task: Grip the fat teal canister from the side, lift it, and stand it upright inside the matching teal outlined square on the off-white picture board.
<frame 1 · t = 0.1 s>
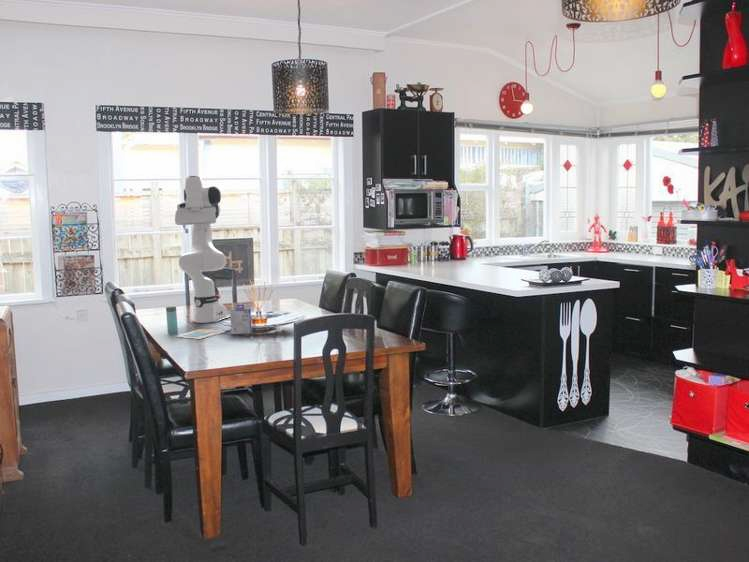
hand: (196, 232, 366), 52 cm above the table, tool tilted 20°, fingers open, 8 cm apart
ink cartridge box: (241, 333, 371), on the table
picture board: (200, 334, 370), on the table
teal canister: (172, 333, 376), on the table
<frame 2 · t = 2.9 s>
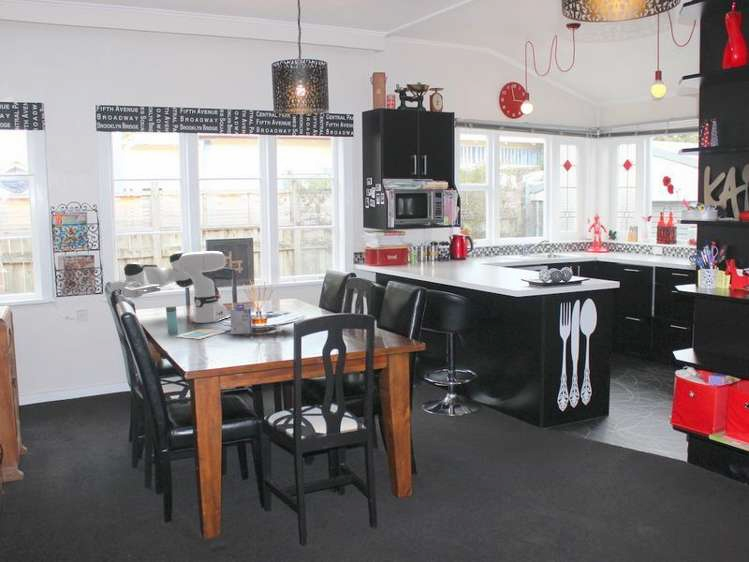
hand: (152, 290, 379), 22 cm above the table, tool horizontal, fingers open, 8 cm apart
nothing on the table moved.
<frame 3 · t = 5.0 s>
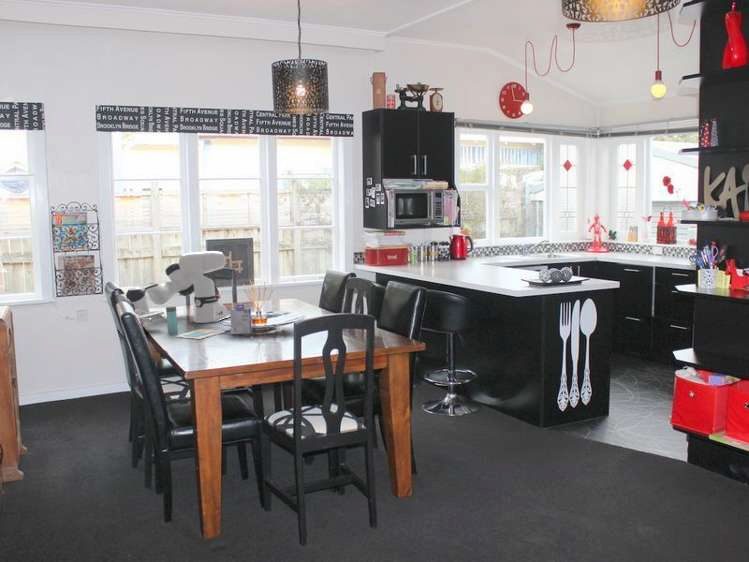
hand: (157, 318, 379), 7 cm above the table, tool horizontal, fingers open, 8 cm apart
nothing on the table moved.
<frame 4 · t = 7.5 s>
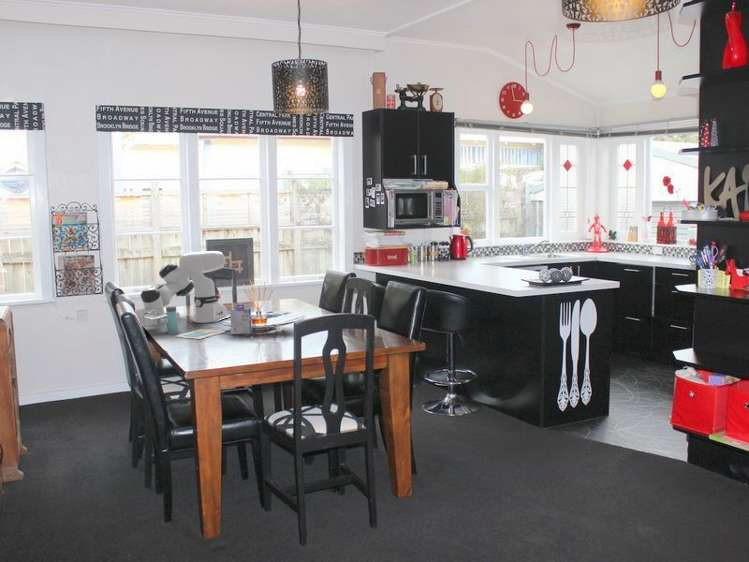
hand: (173, 319, 374), 8 cm above the table, tool horizontal, fingers closed on teal canister, 5 cm apart
teal canister: (172, 333, 376), on the table, touching gripper
everything else where it was.
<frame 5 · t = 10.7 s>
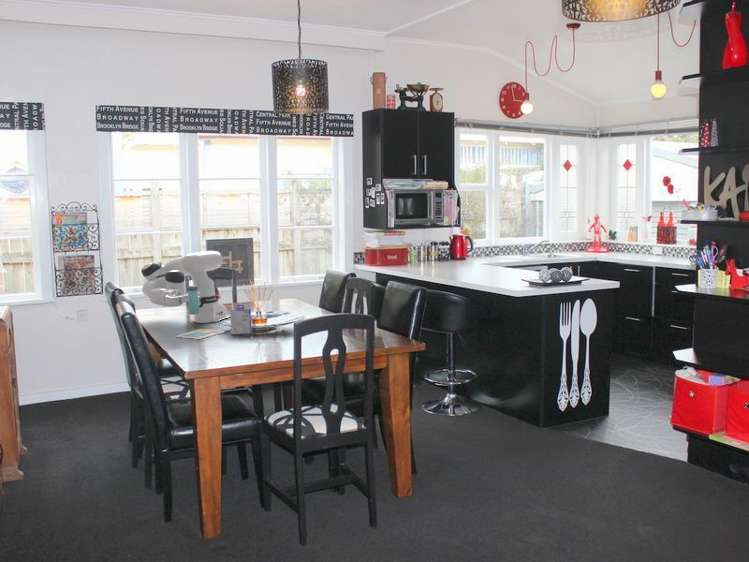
hand: (194, 299, 365), 19 cm above the table, tool horizontal, fingers closed on teal canister, 5 cm apart
teal canister: (194, 313, 367), point 11 cm above the table, touching gripper
everything else where it was.
when the fingers open (10 cm above the table, at t = 13.8 s): teal canister drops 1 cm, resting on picture board.
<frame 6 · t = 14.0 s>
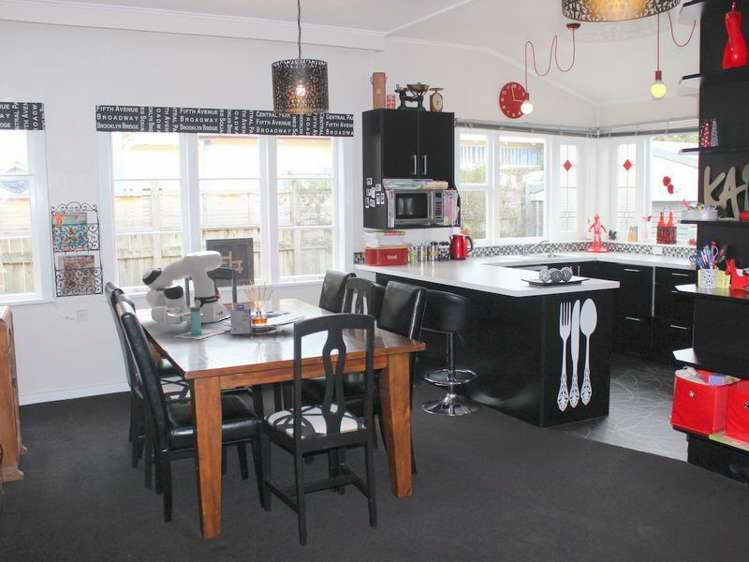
hand: (196, 317, 367), 10 cm above the table, tool horizontal, fingers open, 7 cm apart
teal canister: (196, 334, 368), point 1 cm above the table, touching picture board
everything else where it was.
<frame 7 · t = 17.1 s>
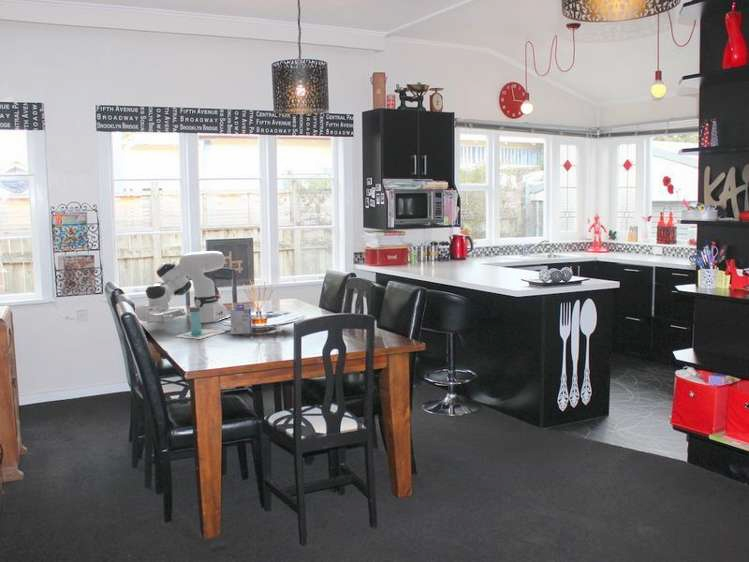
hand: (178, 315, 373), 10 cm above the table, tool horizontal, fingers open, 8 cm apart
nothing on the table moved.
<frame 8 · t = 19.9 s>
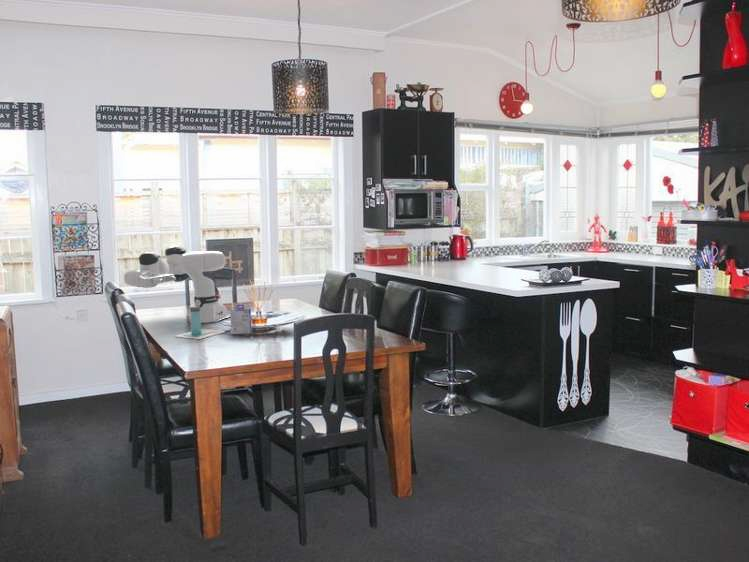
hand: (168, 279, 373), 28 cm above the table, tool horizontal, fingers open, 8 cm apart
nothing on the table moved.
at the end: teal canister inside the target area (0.1 cm from its centre), point 0.7 cm above the table; teal canister tilted 1°; the gripper is holding nothing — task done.
